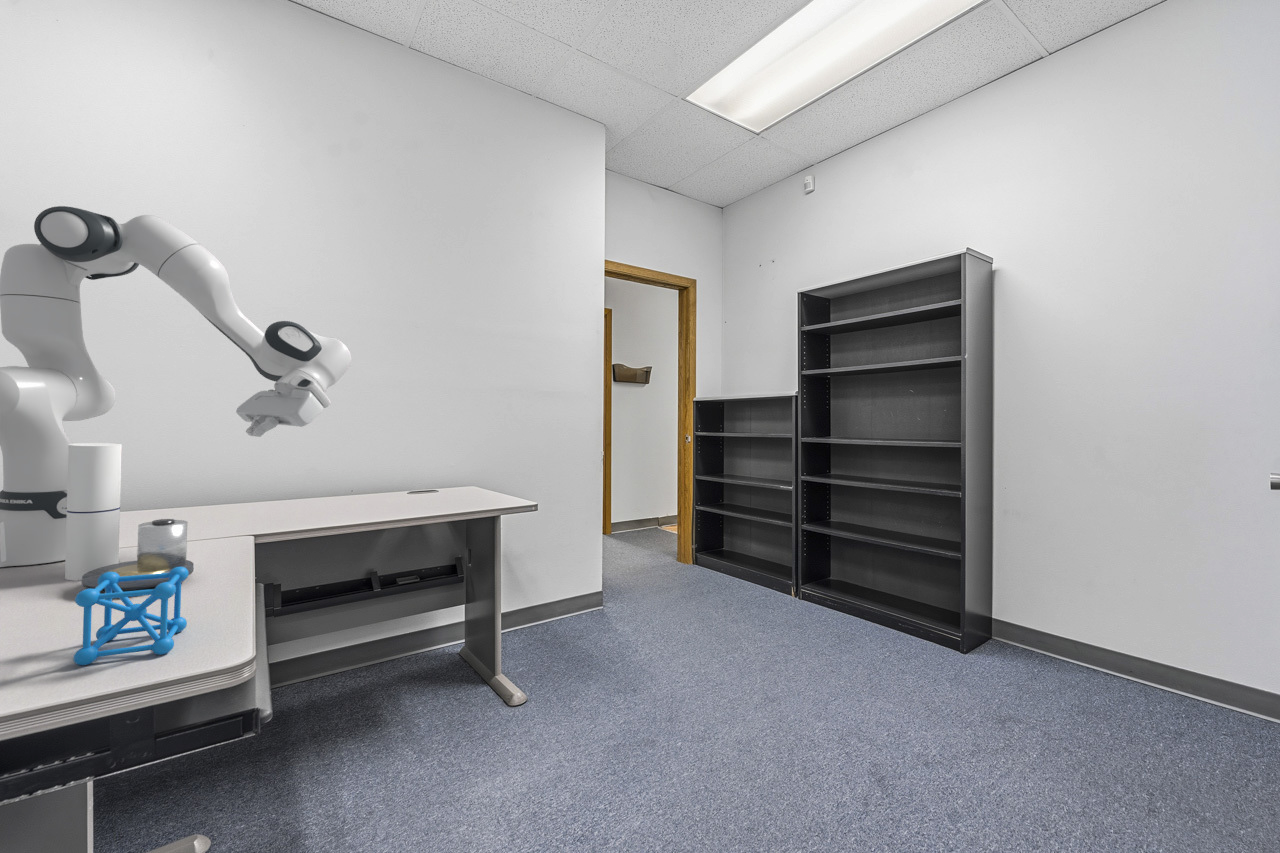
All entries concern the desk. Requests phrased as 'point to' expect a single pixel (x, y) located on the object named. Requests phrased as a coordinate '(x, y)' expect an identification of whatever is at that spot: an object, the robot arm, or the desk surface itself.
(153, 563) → the silver metal canister
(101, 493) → the cylindrical container
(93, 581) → the turntable platter
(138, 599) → the desk surface
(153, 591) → the molecular structure
